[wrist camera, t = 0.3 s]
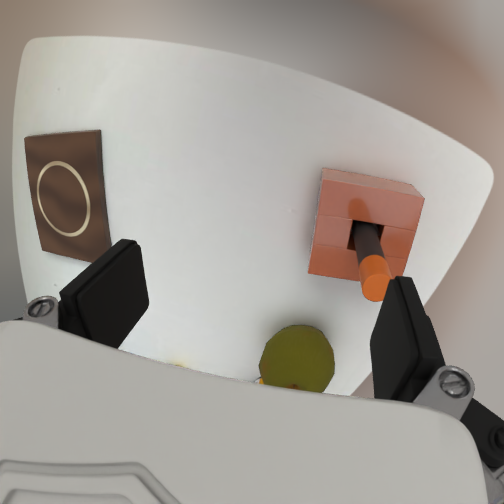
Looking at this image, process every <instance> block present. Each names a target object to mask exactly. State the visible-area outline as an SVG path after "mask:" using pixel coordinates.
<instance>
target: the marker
mask: <svg viewBox="0 0 504 504" xmlns="http://www.w3.org/2000/svg"><path fill="white" fill-rule="evenodd" d="M351 228H352V233H353V238H354V243H355V249H356V254H357V260H358V265H359V275H360V281H361V288H362V293H363V295H364V296H365V297H366V298H367V299H368V300H370V301H374V302H378V301H383V299H384V296H385V293H386V290H387V286H388V283H389V280H390V279H392V276H391V272H390V269H389V266H388V263H387V261H386V259H385V256H384V253H383V250H382V247H381V244H380V242H379V239H378V236H377V233H376V230H375V228H374V225H373V223H370V222H364V221H358V220H353V222H352V227H351Z"/></svg>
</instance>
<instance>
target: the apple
mask: <svg viewBox="0 0 504 504" xmlns="http://www.w3.org/2000/svg"><path fill="white" fill-rule="evenodd" d="M259 369H260V374H261V377H262V380H263V383H264V385H270V386H276V387H282V388H288V389H295V390H302V391H310V392H318V393H322V392H323V391H324V390H325V389H326V387H327V386H328V384H329V382H330V381H331V379H332V377H333V375H334V369H335V362H334V354H333V349H332V347H331V345H330V343H329V342H328V340H327V338H326V337H325V336H324V334H323V333H322V332H321V331H320V330H318V329H316V328H314V327H311V326H305V325H292V326H289V327H286V328H283V329H282V330H281V331H279V332H278V333H277V334H275V335H274V336H273V337H272V338H271V339H270V340H269V341H268V342H267V343H266V346H265V349H264V351H263V354H262V357H261V360H260V363H259Z"/></svg>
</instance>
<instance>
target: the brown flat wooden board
mask: <svg viewBox="0 0 504 504" xmlns="http://www.w3.org/2000/svg"><path fill="white" fill-rule="evenodd" d="M24 142H25V153H26V163H27V171H28V179H29V186H30V192H31V198H32V204H33V210H34V215H35V220H36V225H37V230H38V234H39V239H40V243H41V247H42V251H46V252H50V253H54V254H58V255H62V256H66V257H70V258H74V259H79V260H83V261H87V262H91V263H93V262H94V261H95V260H97V259H98V258H99V257H100V256H101V255H102V254H104V253H105V252H106V251H107V250H109V249H110V248H111V240H110V233H109V226H108V218H107V210H106V201H105V191H104V179H103V166H102V150H101V130H89V131H75V132H63V133H52V134H43V135H35V136H28V137H25V138H24Z"/></svg>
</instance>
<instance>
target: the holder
mask: <svg viewBox="0 0 504 504" xmlns="http://www.w3.org/2000/svg"><path fill="white" fill-rule="evenodd" d="M424 199H425V198H424V197H423V196H422V195H421V194H420V193H419V192H418V191H417V190H416V189H415V188H414V187H413V185H411V184H407V183H402V182H398V181H393V180H388V179H383V178H378V177H373V176H368V175H362V174H357V173H351V172H345V171H339V170H333V169H327V168H322V175H321V183H320V190H319V197H318V203H317V210H316V217H315V223H314V229H313V235H312V242H311V248H310V255H309V264H308V273H309V274H315V275H321V276H328V277H334V278H340V279H347V280H353V281H360V275H359V265H358V260H357V254H356V249H355V243H354V238H353V233H352V231H351V227H352V222H353V220H358V221H364V222H370V223H373V225H374V228H375V230H376V233H377V236H378V239H379V242H380V244H381V247H382V250H383V253H384V256H385V259H386V261H387V263H388V266H389V269H390V272H391V276H392V279H394V278H395V277H396V276H402V275H403V272H404V269H405V266H406V263H407V259H408V256H409V253H410V250H411V246H412V243H413V240H414V236H415V233H416V230H417V226H418V222H419V219H420V215H421V211H422V207H423V203H424ZM360 282H361V281H360Z"/></svg>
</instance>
